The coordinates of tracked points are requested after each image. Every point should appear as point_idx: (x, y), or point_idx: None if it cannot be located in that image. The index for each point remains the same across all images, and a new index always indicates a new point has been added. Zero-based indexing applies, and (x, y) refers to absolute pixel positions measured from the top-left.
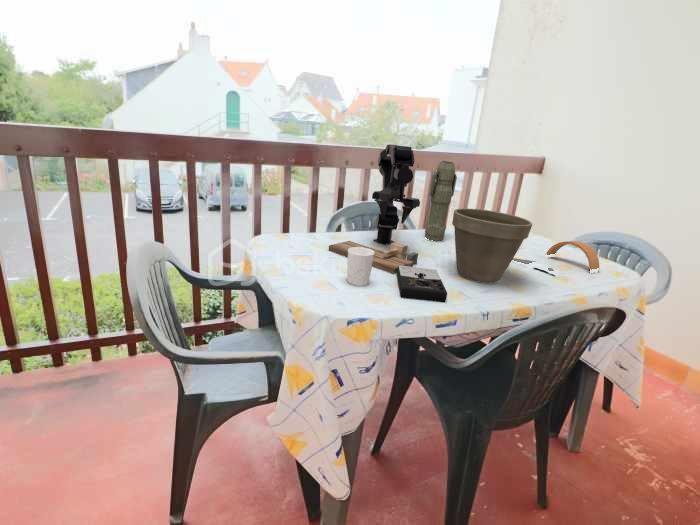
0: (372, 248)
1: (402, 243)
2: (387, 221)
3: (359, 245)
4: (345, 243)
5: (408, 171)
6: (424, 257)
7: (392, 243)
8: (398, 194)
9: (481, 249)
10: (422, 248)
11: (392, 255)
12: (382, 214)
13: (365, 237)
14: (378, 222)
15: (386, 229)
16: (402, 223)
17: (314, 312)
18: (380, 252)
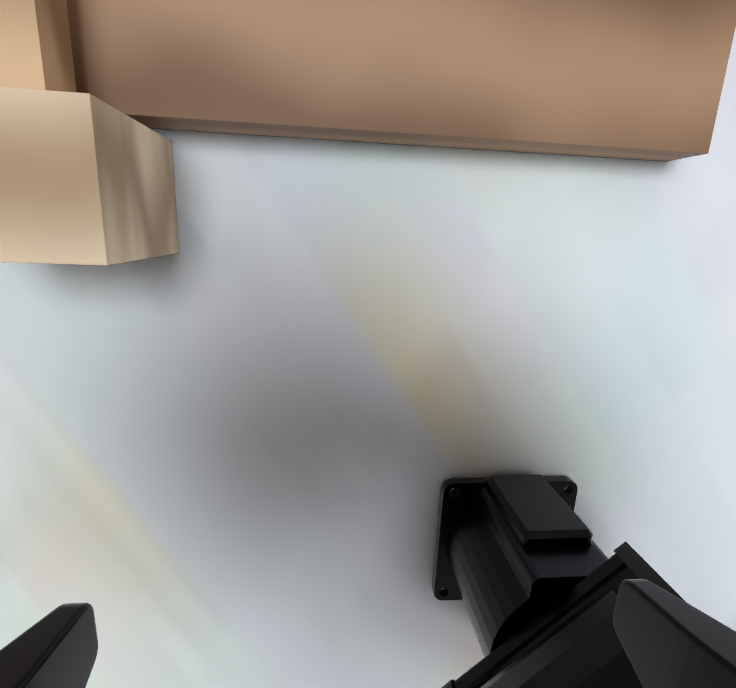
0: (386, 125)
1: (2, 260)
2: (559, 677)
3: (543, 92)
4: (690, 10)
5: None
6: (11, 479)
7: (77, 116)
8: None
9: None
10: (190, 662)
11: (82, 89)
12: (707, 646)
13: (669, 501)
14: (667, 591)
15: (523, 604)
16: (68, 615)
17: None
18: (239, 68)
